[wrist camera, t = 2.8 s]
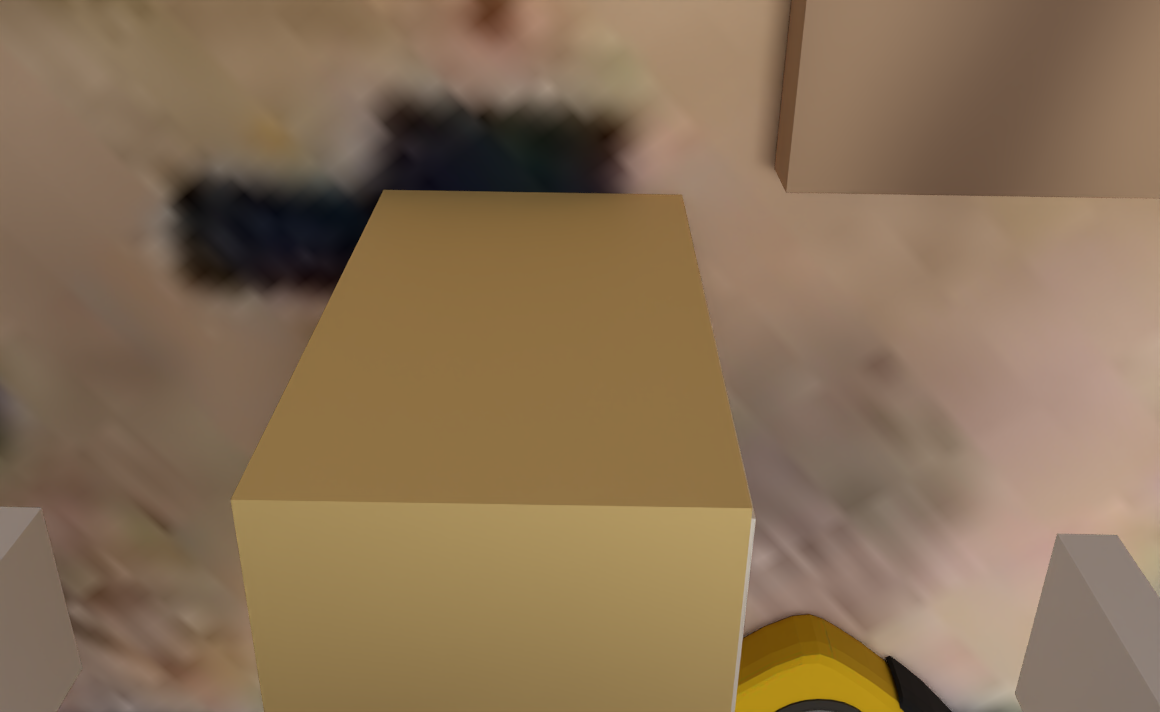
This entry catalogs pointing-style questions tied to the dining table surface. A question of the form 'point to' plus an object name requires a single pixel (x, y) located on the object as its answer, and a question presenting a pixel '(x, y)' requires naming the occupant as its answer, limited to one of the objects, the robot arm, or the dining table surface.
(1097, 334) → the dining table surface
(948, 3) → the shelf board
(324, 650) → the tea box
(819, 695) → the yellow walkie talkie
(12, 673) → the robot arm
